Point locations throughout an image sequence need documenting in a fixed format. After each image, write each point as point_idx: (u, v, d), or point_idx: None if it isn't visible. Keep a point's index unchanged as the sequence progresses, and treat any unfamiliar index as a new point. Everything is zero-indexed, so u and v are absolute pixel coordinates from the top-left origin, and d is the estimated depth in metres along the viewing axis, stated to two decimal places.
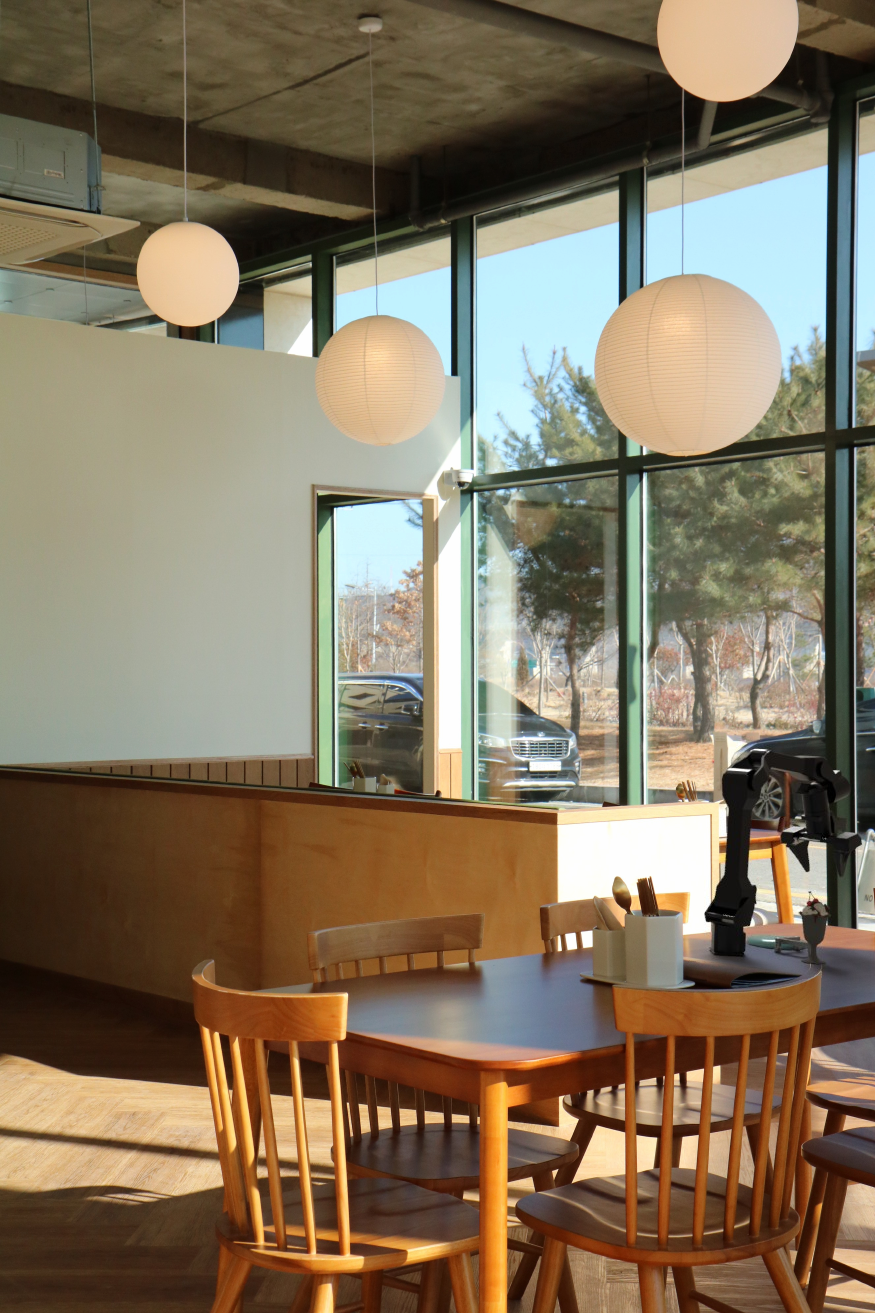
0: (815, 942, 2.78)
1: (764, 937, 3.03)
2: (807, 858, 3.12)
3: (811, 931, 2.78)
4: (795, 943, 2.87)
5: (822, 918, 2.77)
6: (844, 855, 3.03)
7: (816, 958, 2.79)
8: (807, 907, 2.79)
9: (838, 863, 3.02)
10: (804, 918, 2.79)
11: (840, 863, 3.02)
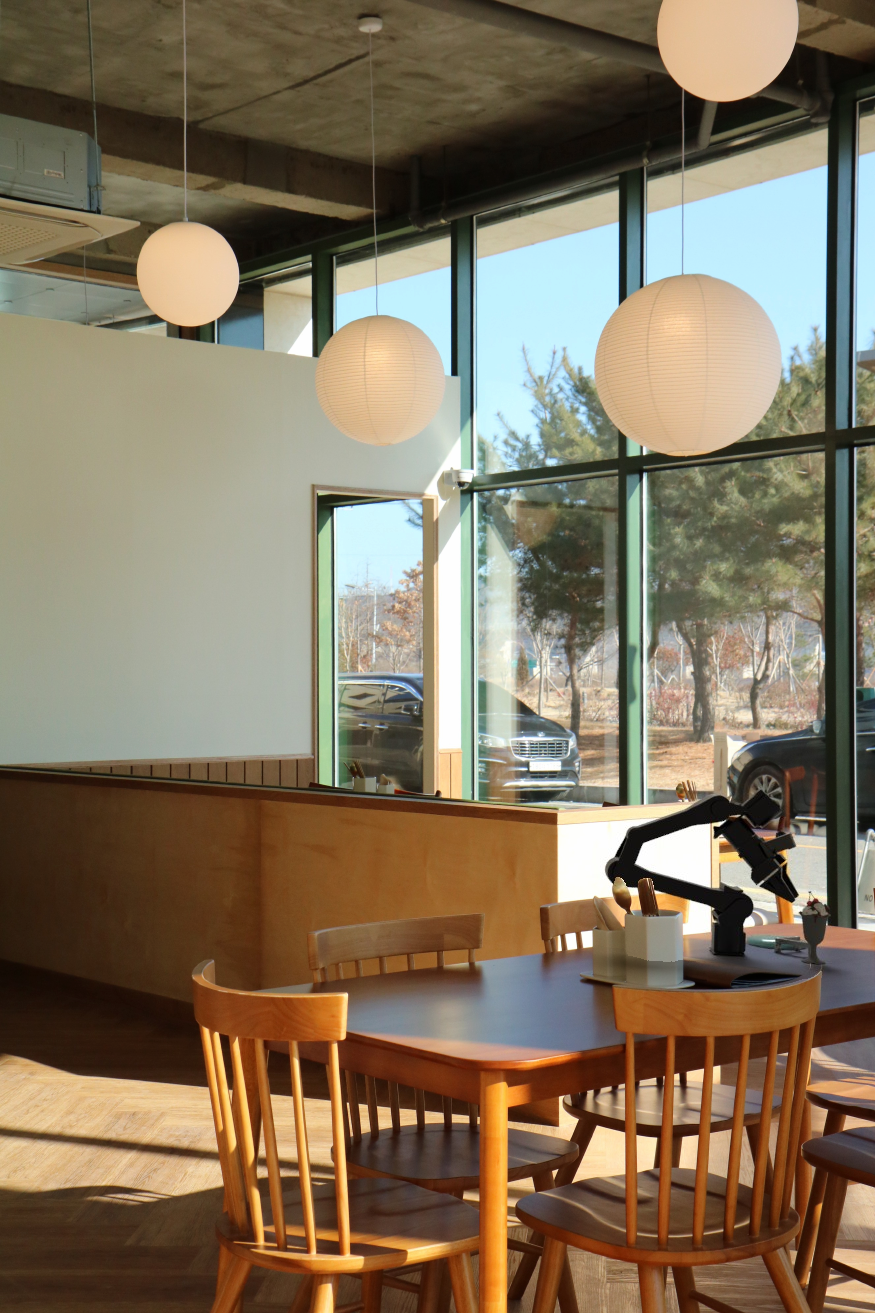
0: (815, 942, 2.78)
1: (764, 937, 3.03)
2: (789, 884, 2.87)
3: (811, 931, 2.78)
4: (795, 943, 2.87)
5: (822, 918, 2.77)
6: (778, 882, 2.78)
7: (816, 958, 2.79)
8: (807, 907, 2.79)
9: (774, 893, 2.78)
10: (804, 918, 2.79)
11: (776, 892, 2.78)
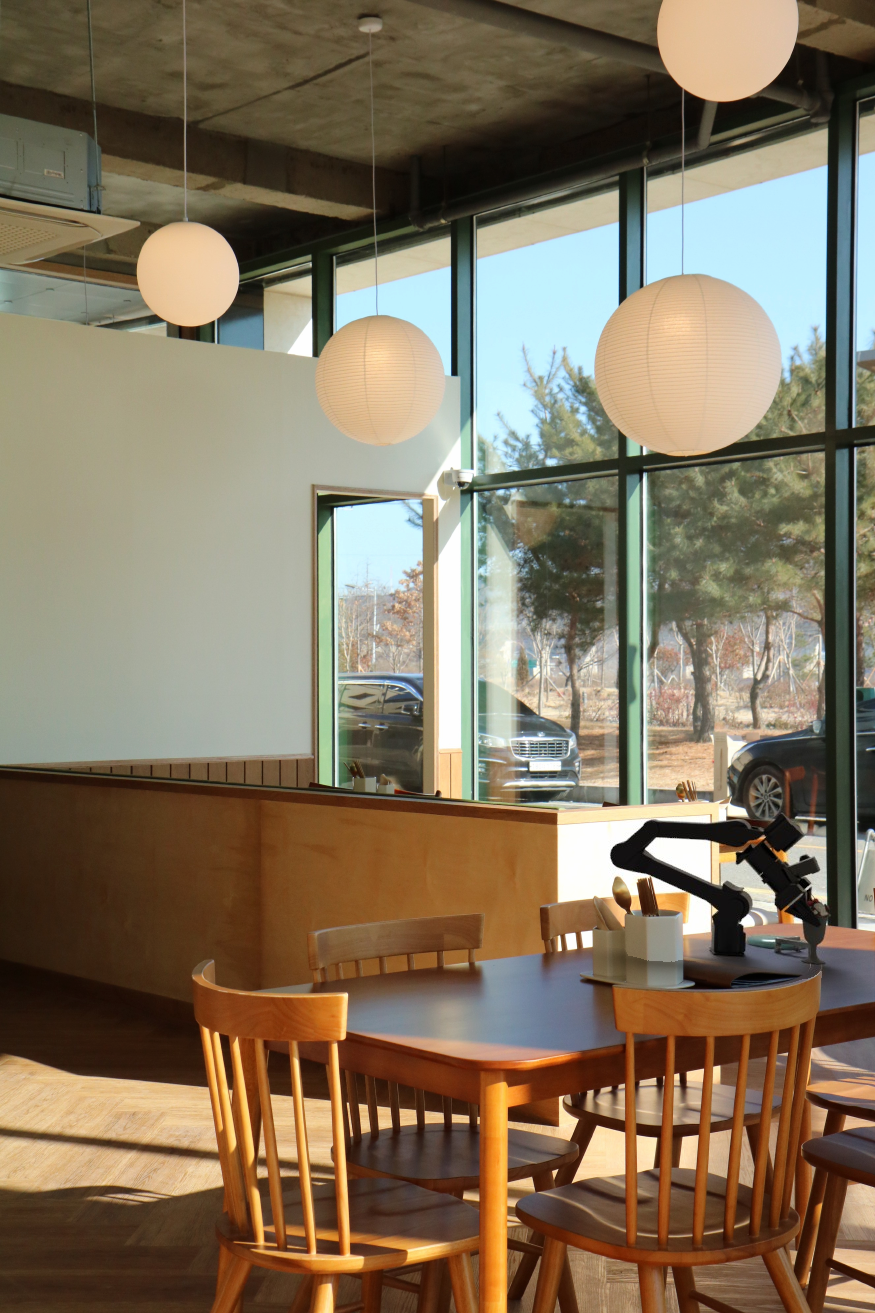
0: (815, 942, 2.78)
1: (764, 937, 3.03)
2: None
3: (811, 931, 2.78)
4: (795, 943, 2.87)
5: (822, 918, 2.77)
6: (803, 906, 2.76)
7: (816, 958, 2.79)
8: None
9: (799, 918, 2.77)
10: None
11: (801, 917, 2.76)
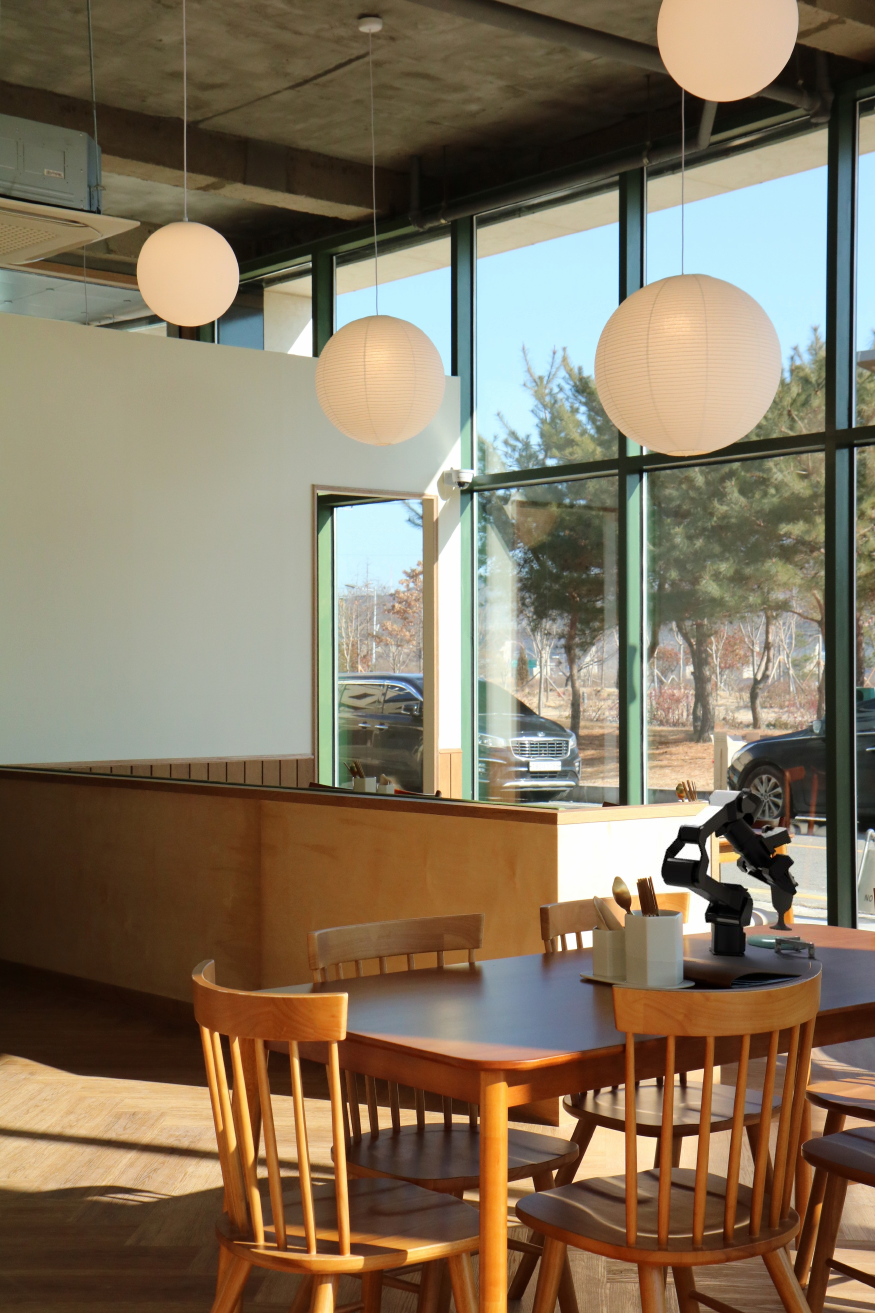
0: (786, 909, 2.89)
1: (764, 937, 3.03)
2: None
3: (784, 899, 2.88)
4: (795, 943, 2.87)
5: (795, 886, 2.88)
6: (784, 876, 2.85)
7: (785, 925, 2.89)
8: None
9: (779, 887, 2.85)
10: (778, 887, 2.88)
11: (782, 886, 2.85)
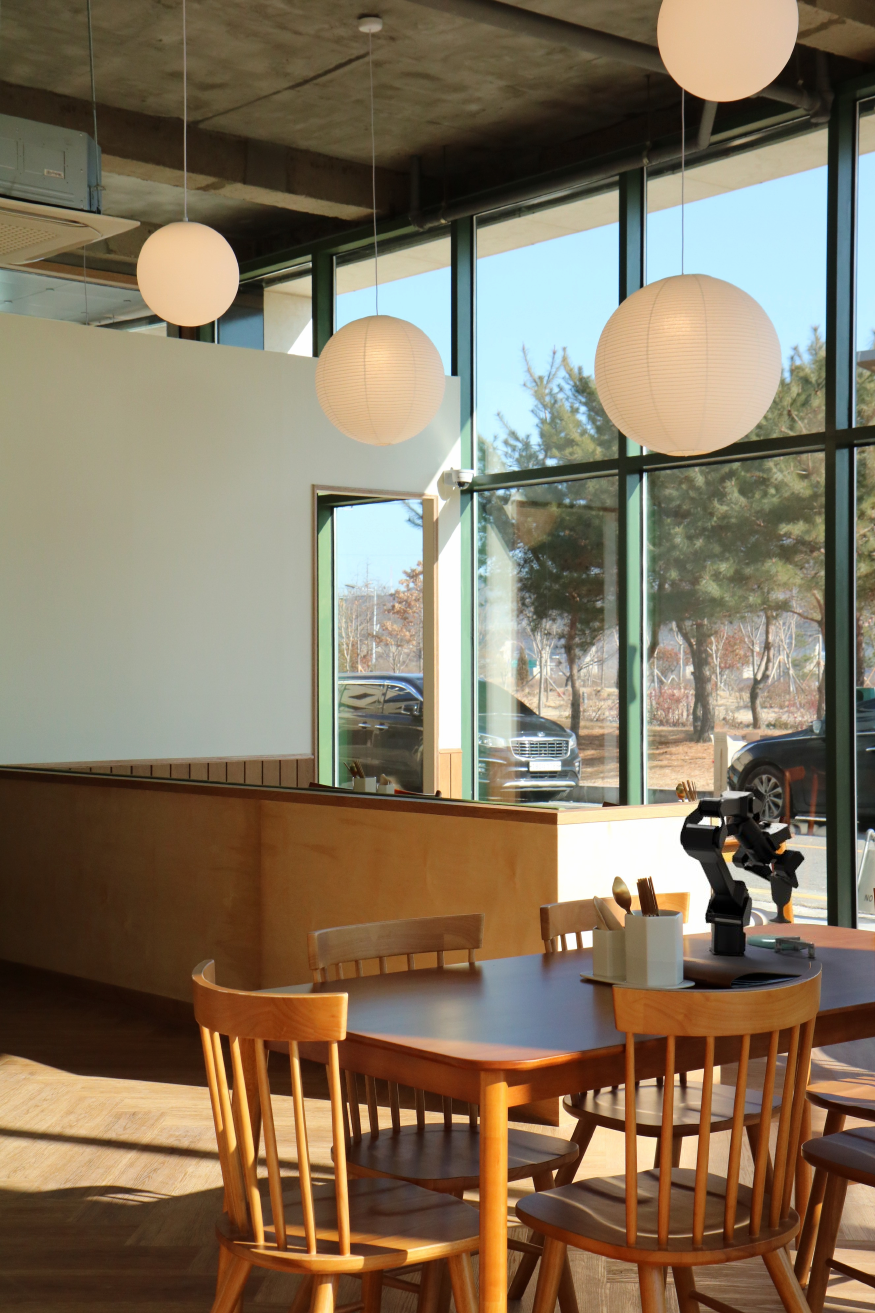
0: (787, 903, 2.99)
1: (764, 937, 3.03)
2: (770, 871, 3.03)
3: (786, 893, 2.98)
4: (795, 943, 2.87)
5: None
6: None
7: None
8: None
9: (786, 882, 2.95)
10: (781, 882, 2.97)
11: (788, 881, 2.95)
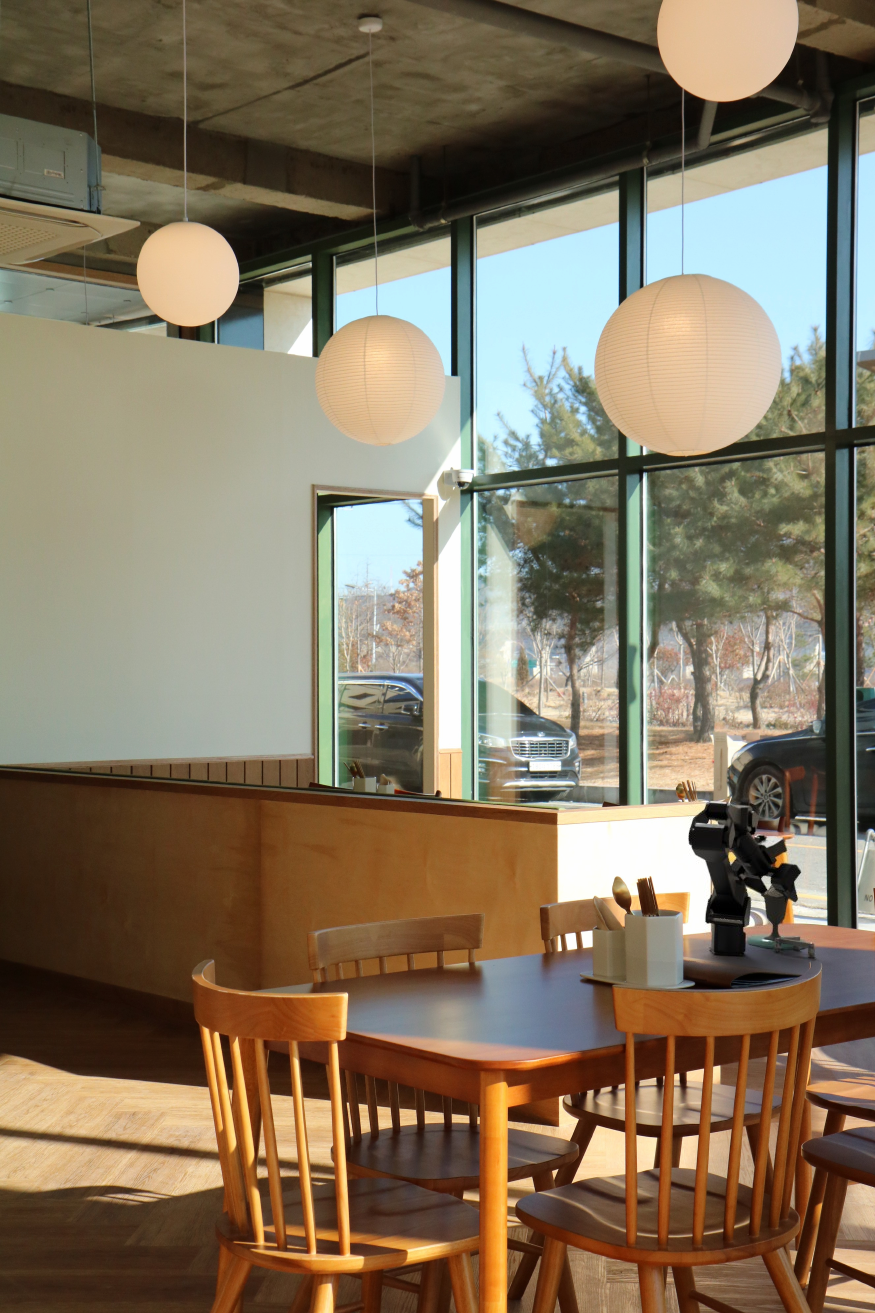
0: (781, 921, 3.00)
1: None
2: (762, 884, 3.05)
3: (781, 911, 2.99)
4: (795, 943, 2.87)
5: None
6: None
7: (779, 935, 3.00)
8: None
9: (786, 896, 2.95)
10: (776, 900, 2.98)
11: (788, 895, 2.95)
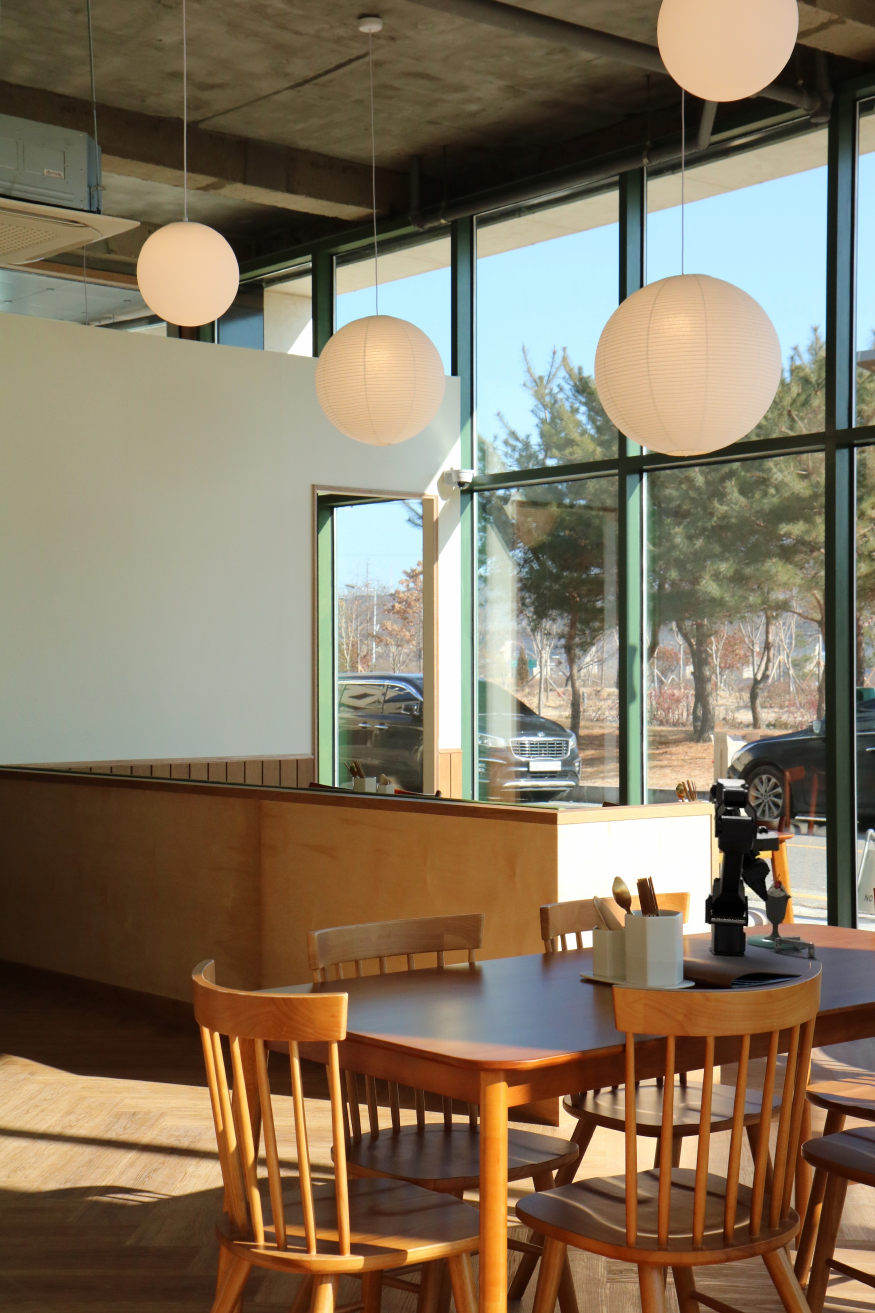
0: (781, 921, 3.00)
1: None
2: None
3: (781, 911, 2.99)
4: (795, 943, 2.87)
5: (789, 898, 3.00)
6: (760, 881, 2.91)
7: (779, 935, 3.01)
8: (777, 889, 2.99)
9: None
10: (776, 900, 2.99)
11: (755, 890, 2.91)
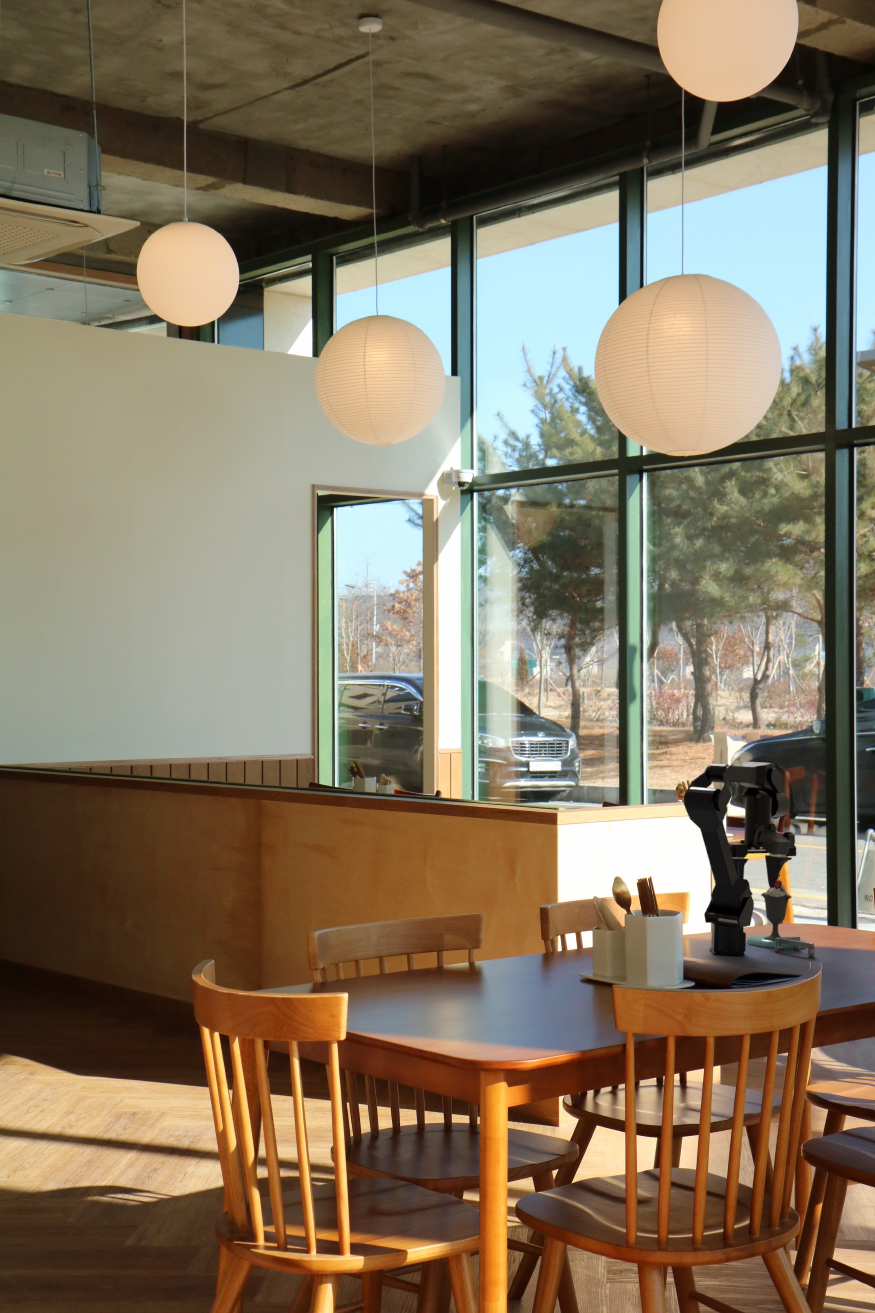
0: (781, 921, 3.00)
1: None
2: (773, 874, 2.98)
3: (781, 911, 2.99)
4: (795, 943, 2.87)
5: (789, 898, 3.00)
6: (738, 866, 2.93)
7: (779, 935, 3.01)
8: (777, 889, 2.99)
9: None
10: (776, 900, 2.99)
11: None
